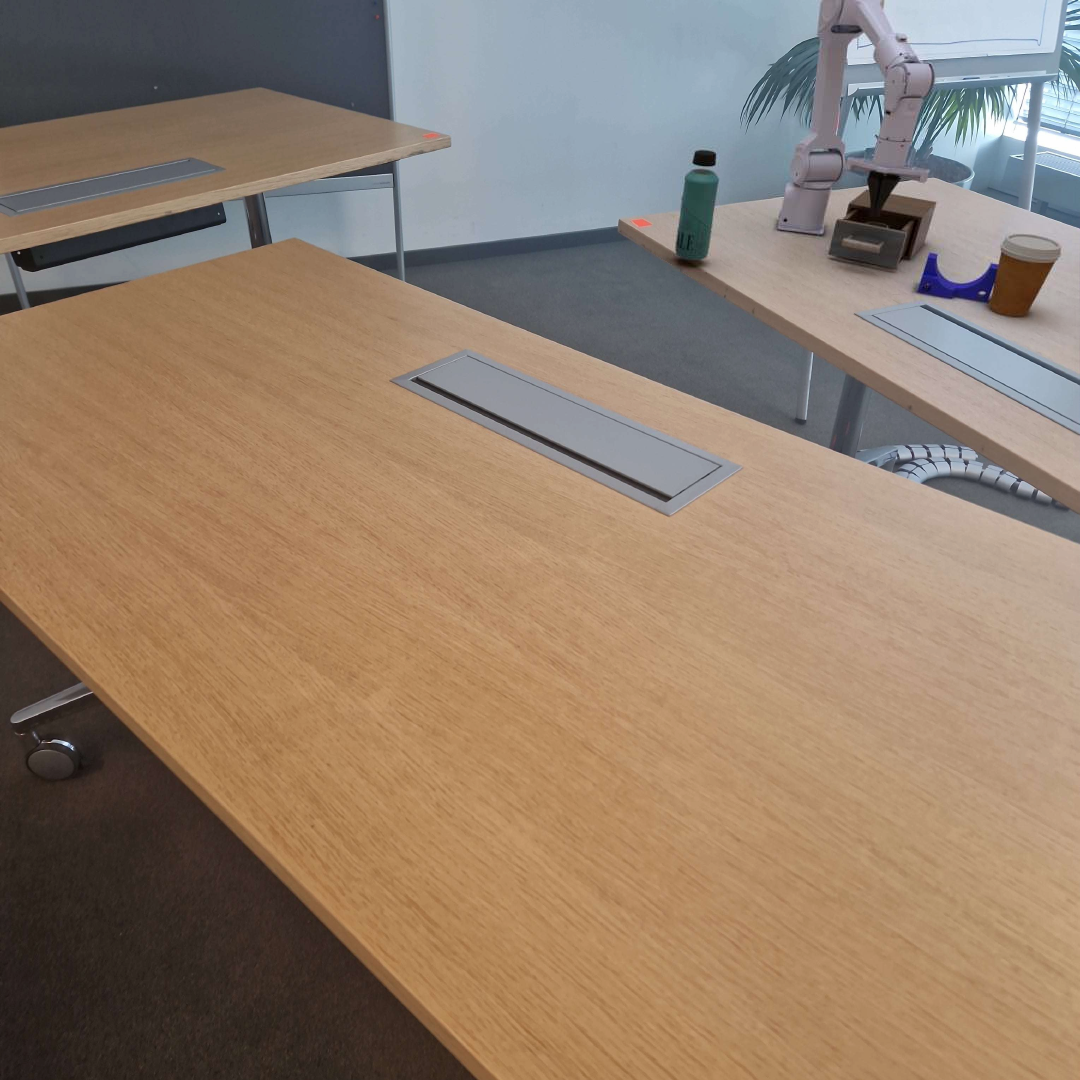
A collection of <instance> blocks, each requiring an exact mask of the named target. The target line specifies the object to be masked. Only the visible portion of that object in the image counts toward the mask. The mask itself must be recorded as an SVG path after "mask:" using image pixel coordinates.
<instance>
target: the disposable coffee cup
mask: <svg viewBox="0 0 1080 1080" xmlns="http://www.w3.org/2000/svg"><path fill="white" fill-rule="evenodd" d="M1061 249H1062V245H1061V244H1060V243H1059V242H1058V241H1056V240H1054V239H1051V238H1048V237H1045V236H1041V235H1035V234H1028V233H1011V234H1008V235H1006V237H1005V238H1004V240H1003V241H1002V242H1001V243H1000V256H999V261H998V263H997V264H998V269H997V274H996V278H995V282H994V286H993V288H992V291H991V295H990V296H991V297H990V301H989V304H988V307H989V308H990V310H992V311H993V312H995V313H997V314H1000V315H1003V316H1008V317H1025V316H1027V315H1028V314H1029V311H1030V310H1031V308H1032V306H1033V304H1034V302H1035V300H1036V299H1037V297H1038V295H1039V293H1040V291H1041V289H1042V287H1043V285H1044V283H1045V281H1046V280H1047V278H1048V276H1049V274H1050V272H1051V270H1052V269H1053V268H1054V265H1055V263H1056V262H1057V261H1058V260H1059V259H1060V258H1061V256H1062V252H1061V251H1062V250H1061Z"/></svg>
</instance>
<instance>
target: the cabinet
mask: <svg viewBox="0 0 1080 1080" xmlns="http://www.w3.org/2000/svg"><path fill="white" fill-rule="evenodd" d="M936 207H937V201H932V200H927V199H922V198H921V199H920V198H917V197H916V198H915V197H910V196H906V195H901V194H900V195H899V194H895V193H891V194H890V195H889V197H888V199H887V200H886V202H885V204H884V206H883V208H882V210H881V212H880V213H883V214H888V215H893V216H898V217H904V218H909V219H914V220H917V222H916V225H915V228H914V232H913V235H912V239H911V242H910V246H909V249H908V251H907V252H906V253H905V254H904V255H903V256H902V258H901V259H902V260H907V261H911V260H912V258H913V257H914V256H915V255H916V254H917V253H918V251H920V249H921V248H922V247H923V245H924V244H925V242H926V239H927V236H928V232H929V230H930V226H931V222H932V220H933V216H934V212H935V209H936ZM855 208H856V209H862V210H867V211H870V193H869V189H865V190H864V191H862V192H861V193H860V194H859V195H857V196H856V197H855V198H853V199H852V200H851V201H850V202H848V204H847V210H846V213H845V216H847V215H848V214H849V213H850V212H851V211H853V210H854V209H855Z"/></svg>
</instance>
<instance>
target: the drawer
mask: <svg viewBox="0 0 1080 1080" xmlns="http://www.w3.org/2000/svg"><path fill="white" fill-rule="evenodd" d="M868 222H878V223H883V224H885V225H887V226H888V227H889V228H884V227H879V226H874V225H868V224H866V223H868ZM916 222H917V220H914V219H909V218H904V217H898V216H893V215H888V214H883V213H880V215H879V216H878V217H877V218H876V217H871V216H870V211H867V210H862V209H856V208H855V209H854V210H853V211H851V212H850V213H849V214H848V215H847V216H846V215H845V216H844V217H843V218H837V219H836V220H835V225H834V229H833V233H832V237H831V241H830V246H829V250H828V255H829V256H834V257H838V258H843V259H848V260H853V261H857V262H861V263H867V264H871V265H876V266H880V267H885V268H890V269H894V270H896V269H898V267H899V263H900V260H901V259H902V256H903V255H904V254H905V253H906V252H907V251H908V249H909V246H910V242H911V239H912V235H913V232H914V228H915V225H916Z"/></svg>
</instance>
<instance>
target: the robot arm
mask: <svg viewBox="0 0 1080 1080" xmlns="http://www.w3.org/2000/svg"><path fill="white" fill-rule="evenodd" d="M884 7H885V0H821V1H820V5H819V12H818V20H817V21H818V22H817V34H816V36H817V38H819V40H820V41H819V48H818V49H819V50H818V56H817V57H818V58H817V66H816V75H815V85H814V92H813V102H812V111H811V118H810V119H811V120H810V121H811V122H810V129H809V134H807V135H806V136H805V137H804V138H803V139H801V140H800V141H799V142H798V143H796V144H795V149H794V154H793V158H792V159H791V162H790V172H789V173H790V176H791V180H792V181H793V182H786V186H785V191H784V195H783V201H782V205H781V209H779V212H778V225H777V229H778V230H781V231H787V232H789V231H790V232H797V233H804V234H811V235H819V236H823V235H824V232H825V226H826V225H825V224H826V223H825V218H826V213H827V209H828V204H829V200H830V197H831V196H830V195H831V192H832V189H833V188H835V187H836V183H837V184H838V183H839V182H840V181H841V180H842V178H843V176H844V174H845V171H855V172H862V173H868V176H867V177H866V183H867V188H868V190H869V193H870V216H871V217H876V218H877V217H878V216H879V215H880V212H881V210H882V208H883V206H884V204H885V202H886V200H887V199H888V197H889V195H890V194H892V193H893V191H894V190H895V188H896V187H897V186H898V184H899V183H900V181H901V180H902V179H904V180H909V181H915V182H918V183H921V184H925V183H926V182H927V181H928V178H929V175H930V171H931V170H930V169H926V168H922V167H918V166H915V165H914V166H913V165H909V164H906V161H907V158H908V154H909V151H910V148H911V147H910V146H911V143H912V141H913V136H914V132H915V128H916V125H917V121H918V118H919V113H920V110H921V106H922V102H923V100H926V99H927V98H928V97H929V96H930V94H931V93H932V91H933V89H934V87H935V83H936V71H935V68H934V65H933V63H932V62H930V61H923V60H920V59H919V57H918V55H917V54H916V53H915V51H914V49H913V48H912V46H911V44H910V43H909V41H908V37H907V35H906V34H905V33H900V32H894V30H893V28H892V26H891V24H890V21H889V20H888V17H887V16H886V14H885V11H884ZM863 34H864V35H865V36H866V37H867V39H868V40H869V41H870V43H871V44H872V45H873V47H874V50H873V54H872V55H873V60H874V62H875V64H876V65H877V66H878V69H879V71H880V72H881V75H883V77H884V82H883V93H884V98H883V104H882V105H883V107H882V108H883V109H884V113H883V116H882V120H881V124H880V128H879V133H878V136H877V139H876V144H875V147H874V152H873V156H872V158H863V157H853V156H849V157H848V158H847V159H846V153H845V152H846V143H845V142H844V141H843V140H842V139H841V138H840V137H839V136H838V135H837V132H838V131H837V130H838V123H839V122H838V120H839V115H840V106H841V99H842V90H843V82H844V75H845V66H846V57H847V50H848V46H849V45H850V44H851V42H852V41H853V40H855V39H859V37H861V36H862V35H863ZM821 149H822V150H821ZM825 149H827V150H825ZM813 150H814V151H813ZM815 150H817V151H815ZM818 150H819V151H818Z"/></svg>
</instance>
